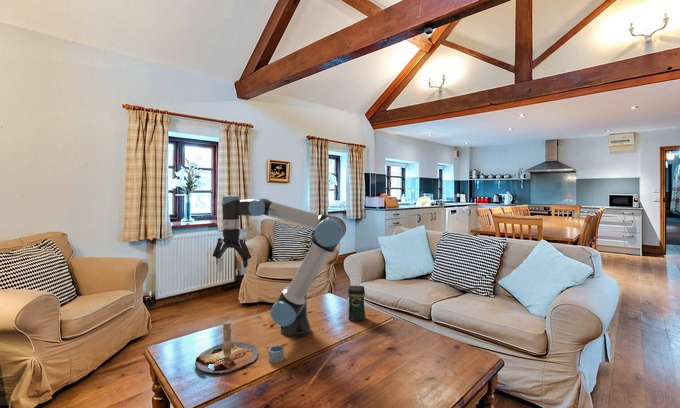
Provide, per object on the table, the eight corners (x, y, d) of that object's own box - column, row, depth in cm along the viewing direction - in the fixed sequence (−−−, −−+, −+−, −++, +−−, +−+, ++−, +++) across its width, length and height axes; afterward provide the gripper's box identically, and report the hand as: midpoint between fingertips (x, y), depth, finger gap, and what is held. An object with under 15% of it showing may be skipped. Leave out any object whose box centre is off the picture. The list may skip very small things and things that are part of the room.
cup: (273, 355, 136) (273, 344, 136) (286, 357, 134) (286, 346, 134) (265, 362, 130) (265, 351, 130) (278, 365, 128) (278, 353, 128)
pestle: (226, 351, 135) (226, 321, 134) (232, 352, 134) (232, 322, 134) (222, 354, 132) (221, 324, 132) (227, 356, 131) (227, 325, 131)
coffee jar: (365, 316, 178) (365, 284, 177) (365, 322, 170) (365, 288, 169) (348, 315, 179) (348, 283, 178) (347, 321, 171) (347, 287, 170)
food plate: (210, 384, 116) (210, 375, 116) (186, 361, 132) (186, 353, 132) (268, 360, 134) (268, 351, 134) (240, 342, 150) (240, 335, 150)
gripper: (204, 228, 149) (205, 272, 150) (248, 230, 140) (249, 276, 141) (215, 226, 156) (216, 268, 157) (258, 228, 147) (259, 272, 148)
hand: (232, 272), depth 149 cm, fingers open, 13 cm apart
